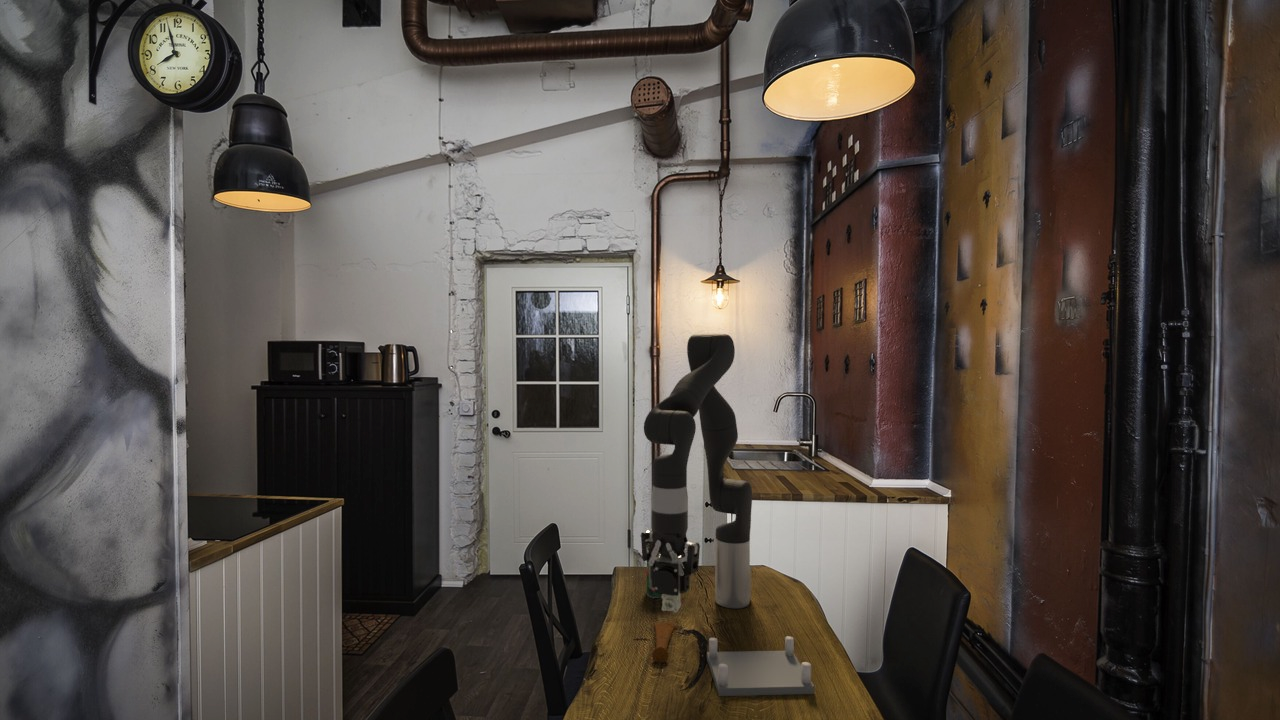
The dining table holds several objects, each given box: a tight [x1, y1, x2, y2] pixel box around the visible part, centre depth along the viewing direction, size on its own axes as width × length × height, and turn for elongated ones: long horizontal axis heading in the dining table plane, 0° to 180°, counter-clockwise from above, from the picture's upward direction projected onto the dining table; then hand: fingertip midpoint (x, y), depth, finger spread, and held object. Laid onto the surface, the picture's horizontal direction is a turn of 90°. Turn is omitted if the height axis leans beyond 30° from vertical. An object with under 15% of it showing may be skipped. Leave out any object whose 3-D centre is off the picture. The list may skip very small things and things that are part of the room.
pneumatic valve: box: [652, 549, 687, 613], centre depth 118 cm, size 6×12×12 cm, turn 164°
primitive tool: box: [651, 621, 677, 664], centre depth 134 cm, size 19×6×4 cm, turn 177°
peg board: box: [706, 635, 815, 697], centre depth 120 cm, size 19×14×5 cm
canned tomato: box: [645, 561, 663, 600], centre depth 162 cm, size 8×8×11 cm
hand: (669, 587), depth 118 cm, fingers closed on pneumatic valve, 6 cm apart
